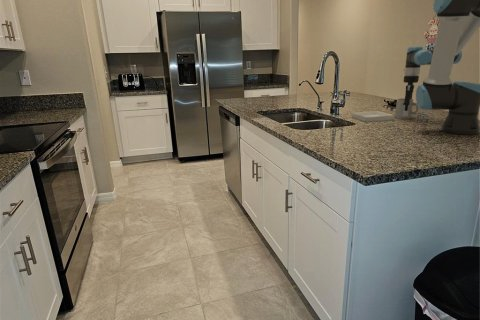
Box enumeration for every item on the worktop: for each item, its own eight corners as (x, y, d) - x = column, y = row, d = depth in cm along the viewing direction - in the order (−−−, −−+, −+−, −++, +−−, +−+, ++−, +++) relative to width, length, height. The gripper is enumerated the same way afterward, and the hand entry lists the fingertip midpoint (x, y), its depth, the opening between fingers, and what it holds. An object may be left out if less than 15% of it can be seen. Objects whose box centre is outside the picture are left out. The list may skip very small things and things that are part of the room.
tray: (376, 115, 195) (377, 111, 194) (393, 120, 181) (394, 115, 180) (351, 117, 192) (351, 112, 191) (366, 122, 177) (366, 117, 177)
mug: (392, 118, 186) (394, 99, 183) (397, 116, 192) (400, 98, 189) (414, 120, 178) (417, 101, 175) (419, 118, 184) (422, 99, 181)
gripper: (406, 74, 188) (401, 111, 195) (401, 76, 171) (396, 117, 179) (420, 74, 184) (415, 112, 192) (417, 76, 168) (411, 118, 175)
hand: (406, 114), depth 185 cm, fingers closed on mug, 8 cm apart
